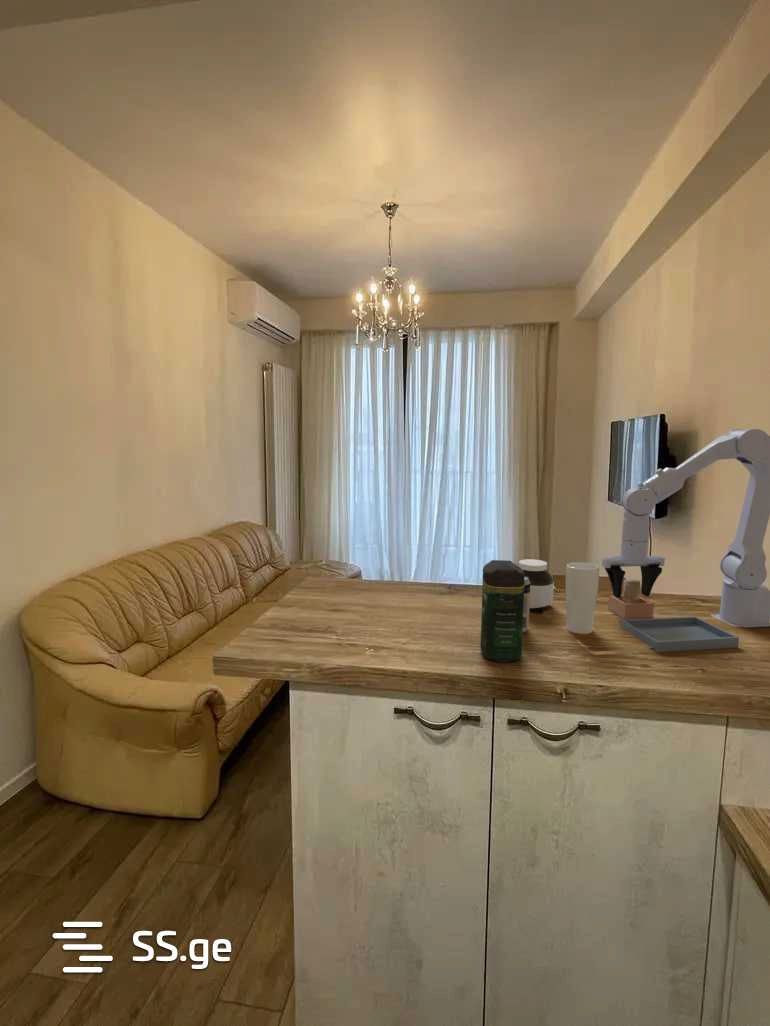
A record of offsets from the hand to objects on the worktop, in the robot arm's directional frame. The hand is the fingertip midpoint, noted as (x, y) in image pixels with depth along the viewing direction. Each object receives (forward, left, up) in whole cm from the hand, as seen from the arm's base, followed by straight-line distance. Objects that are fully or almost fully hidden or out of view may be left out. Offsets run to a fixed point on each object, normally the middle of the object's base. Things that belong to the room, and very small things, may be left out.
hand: (631, 595), depth 131 cm
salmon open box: (0, 0, -5) cm, 5 cm away
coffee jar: (+38, +18, -5) cm, 42 cm away
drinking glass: (+17, +8, -5) cm, 20 cm away
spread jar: (+23, -8, -5) cm, 25 cm away
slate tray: (-2, +14, -5) cm, 15 cm away
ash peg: (0, 0, -4) cm, 4 cm away
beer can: (+30, +6, -5) cm, 31 cm away
